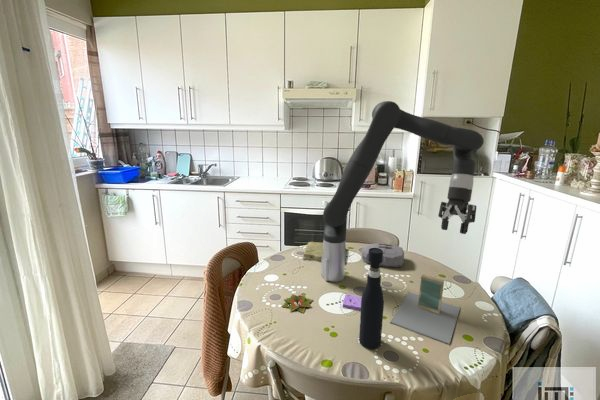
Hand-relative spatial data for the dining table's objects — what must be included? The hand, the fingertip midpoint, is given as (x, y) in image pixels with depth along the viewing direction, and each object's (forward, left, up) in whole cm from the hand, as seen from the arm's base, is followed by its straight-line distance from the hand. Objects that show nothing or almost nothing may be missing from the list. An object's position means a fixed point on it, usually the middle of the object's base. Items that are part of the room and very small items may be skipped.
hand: (453, 231), depth 109 cm
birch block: (-12, -6, -25) cm, 29 cm away
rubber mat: (-15, -9, -26) cm, 31 cm away
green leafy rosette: (-56, +10, -27) cm, 63 cm away
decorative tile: (-32, +47, -27) cm, 63 cm away
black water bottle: (-40, -15, -26) cm, 50 cm away
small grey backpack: (-8, +33, -26) cm, 43 cm away
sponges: (-34, +3, -27) cm, 43 cm away
